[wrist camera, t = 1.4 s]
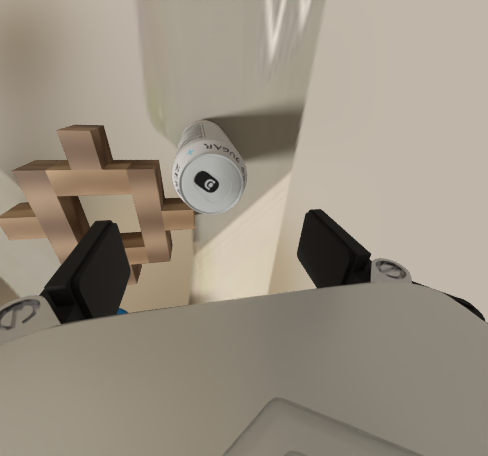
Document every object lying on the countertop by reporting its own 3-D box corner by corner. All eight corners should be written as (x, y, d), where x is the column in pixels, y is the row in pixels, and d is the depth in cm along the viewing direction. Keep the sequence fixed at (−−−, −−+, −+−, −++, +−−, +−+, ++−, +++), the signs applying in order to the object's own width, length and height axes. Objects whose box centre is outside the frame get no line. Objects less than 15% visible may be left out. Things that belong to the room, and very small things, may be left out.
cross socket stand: (-27, 122, 23) (-64, 127, 19) (187, 127, 27) (186, 132, 24) (58, 274, 34) (44, 293, 31) (198, 261, 39) (198, 277, 35)
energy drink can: (208, 175, 31) (218, 233, 18) (171, 147, 28) (152, 193, 15) (235, 141, 29) (267, 179, 17) (198, 107, 26) (203, 123, 14)
